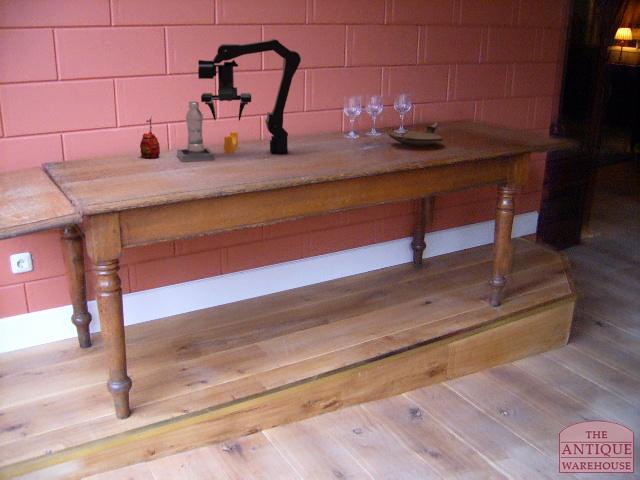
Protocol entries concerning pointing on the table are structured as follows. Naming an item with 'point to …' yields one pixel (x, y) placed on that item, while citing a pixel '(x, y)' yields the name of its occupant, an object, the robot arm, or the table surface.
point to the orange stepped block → (231, 142)
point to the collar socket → (195, 155)
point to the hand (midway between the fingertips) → (227, 120)
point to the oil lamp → (418, 137)
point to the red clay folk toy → (149, 144)
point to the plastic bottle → (194, 129)
